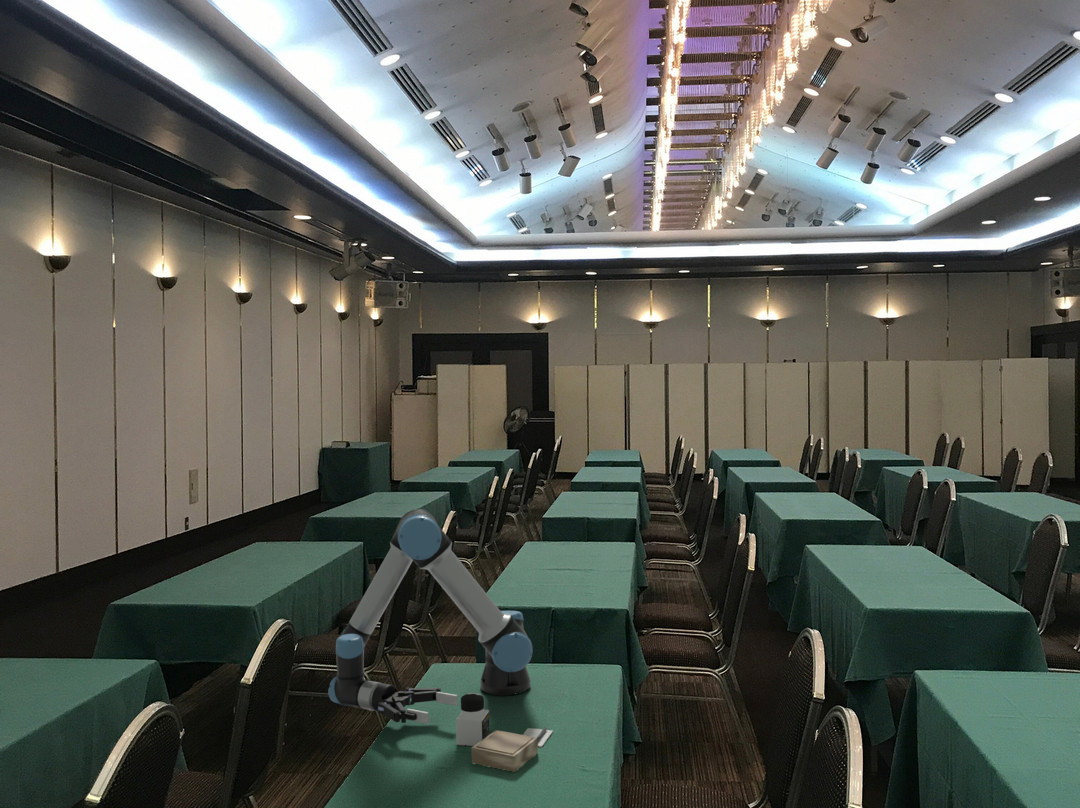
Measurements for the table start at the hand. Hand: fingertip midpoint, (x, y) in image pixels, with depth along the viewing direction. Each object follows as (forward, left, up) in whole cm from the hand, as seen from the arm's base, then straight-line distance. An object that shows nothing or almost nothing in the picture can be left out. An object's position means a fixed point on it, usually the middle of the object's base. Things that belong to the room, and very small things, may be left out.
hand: (443, 709), depth 242 cm
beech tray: (+6, +22, -7) cm, 24 cm away
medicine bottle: (0, +9, -7) cm, 12 cm away
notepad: (-8, +23, -8) cm, 26 cm away
